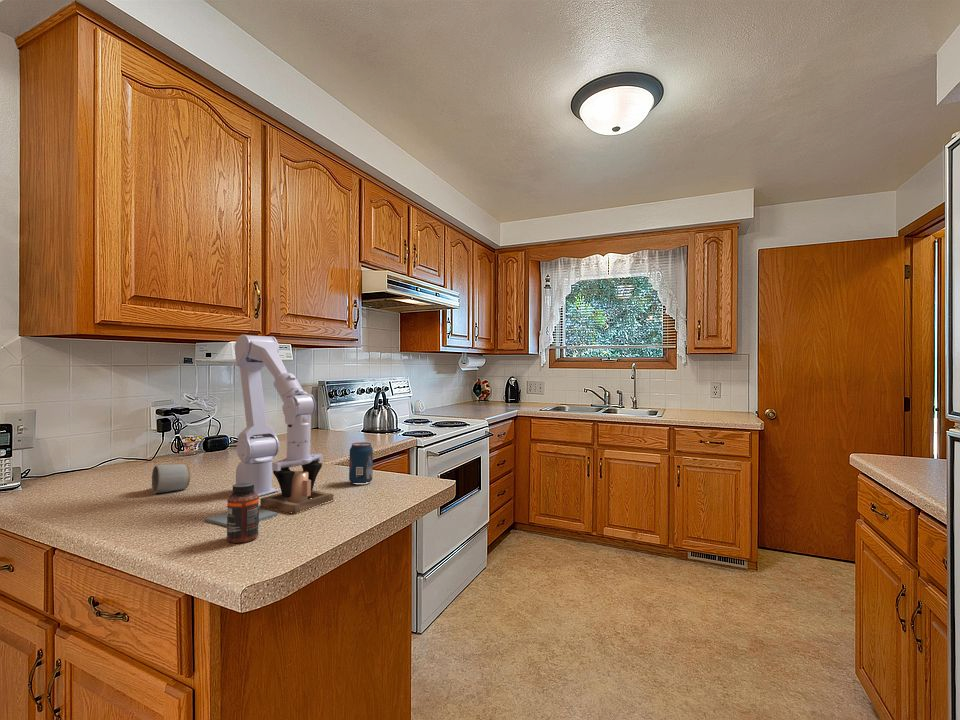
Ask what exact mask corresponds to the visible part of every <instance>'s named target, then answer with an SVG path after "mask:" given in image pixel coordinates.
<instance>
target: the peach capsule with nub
mask: <svg viewBox="0 0 960 720" xmlns="http://www.w3.org/2000/svg"><path fill="white" fill-rule="evenodd" d="M294 471H295V473H294V476H293V479H292V484H291V496H290V497H289V498H287V502H292V503H299V502H302V501H305V500H309V499H308V496H311V480H308V472H307V471H303V470H294Z"/></svg>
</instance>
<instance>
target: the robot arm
mask: <svg viewBox="0 0 960 720" xmlns="http://www.w3.org/2000/svg"><path fill="white" fill-rule="evenodd" d="M279 351H280V344H279V342H278V340H277V339H276V337H275V336H273V335H269V336H267V335H266V336H264V335H263V336H262V335H247V334H241V335H239V336H238V337H237V339H236V341H235V344H234V355H235V356H234V357H235V364H236V366H237V367H239V371H240V381H241V389H242V397H243V399H242V400H243V405H244V415H245V423H246V427H245V428H244V429H242V431H241V432H239V434H238V435H237V446H236V453H237V457H238V459H240V461H239V463H238V464H237V466H236V469H235V484H236V483H241V482H252V483H254V491H255V492H256V493H257V494H258V495H259V497H261V496H264V495H270V494H272V493H275V492H279V491H281V492H280V493H282V496H283V497H286V498H289V497H290V496H291V484H292V479H293V476H294V473H295V471H296V470H291V469H290V468H295V467H299V466H301V467H302V471H307V472H308V480H311V491H312V490H314V485H315V483H316V480H317V476H318V474H319V472H320V470H321V469H322V467H323V464H322V462H323V454H322V453H312V454H311V436H312V435H311V434H312V433H311V428H312V425H311V424H312V418H311V417H312V416H313V415H314V414H315V412H316V410H317V408H316V407H317V402H316V399H315V397H314V395H313V394H311V393H308V392H307V391H305V390H304V389H303V387H302V386H301V384H300V382H299V381H298V379H297V377H296V376H295V374H293V373H290V372H288V371H287V368H286V367H285V364H284V362H283V361H282V358H281V356H280V354H279ZM265 367H266V368H267V370H269V373H270V374H271V375H272V376H273V378H274V379H275V380H274V381H273V387H274V388H275V390H276V392H277V393H278V395H279V397H280V398H281V400H282V402H283V405H282V406H281V408H282V413H283V415H284V422H285V424H286V425H287V426H286V427H287V428H286V458H284V459H279V460H277V461H274V462H273V460H276V457H277V455H278V454H279V451H280V449H281V446H280V445H281V444H280V441H279V439H278V436H277V432H276V430H275V429H274V428H273V427H271V426H270V425H269V424H268V423H267V416H266V406H265V399H264V390H263V384H262V383H263V382H262V375H261V371H262V369H263V368H265ZM273 475H274V476H275V479H276V480H277V482H278V485H279V488H280V490H279V488H274V487H273Z"/></svg>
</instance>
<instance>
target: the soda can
mask: <svg viewBox="0 0 960 720" xmlns="http://www.w3.org/2000/svg"><path fill="white" fill-rule="evenodd" d="M373 451H374V449H373V447H372V443H371V442H363V441H362V442H353V443H351V446H350V448H349V459H348V461H349V463H348V464H349V468H348V470H349V471H348V480H349V482H350V483H366V482H370V481H371V482H372V480H373V471H374V470H373V466H374V465H373V463H374V461H373V460H374V459H373V458H374V457H373V456H374V455H373V454H374V452H373ZM371 482H370V483H371Z"/></svg>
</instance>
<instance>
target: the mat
mask: <svg viewBox="0 0 960 720" xmlns="http://www.w3.org/2000/svg"><path fill="white" fill-rule="evenodd" d="M276 515H279V512H275V511H271V510H266V509H262V508H259V522H262V521H265V520H268V519H271V518H274V517H273V516H275V517H277V516H276ZM270 517H271V518H270ZM267 518H268V519H267ZM264 519H265V520H264ZM261 520H262V521H261ZM204 522H208V523H212V524H215V525H219V526H222V527H226V528H227V511H226V512H222V513H218V514H216V515H211V516H207V517H204Z"/></svg>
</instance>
